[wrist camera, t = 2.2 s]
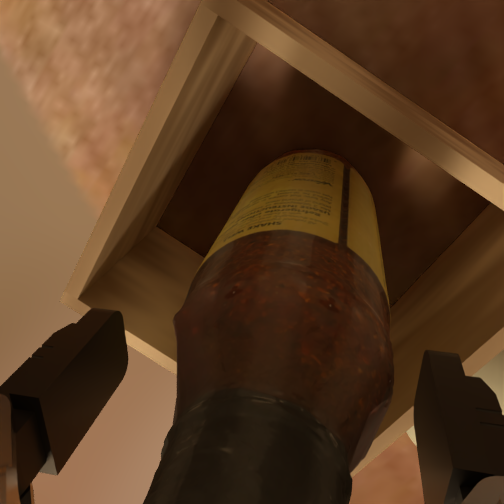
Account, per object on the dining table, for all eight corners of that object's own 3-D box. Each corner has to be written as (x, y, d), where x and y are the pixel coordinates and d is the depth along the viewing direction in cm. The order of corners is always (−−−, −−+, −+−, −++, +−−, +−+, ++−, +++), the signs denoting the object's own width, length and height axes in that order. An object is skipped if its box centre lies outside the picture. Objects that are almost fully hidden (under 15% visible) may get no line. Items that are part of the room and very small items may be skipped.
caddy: (528, 181, 21) (611, 258, 14) (351, 364, 27) (345, 482, 20) (264, -1, 20) (210, -18, 13) (142, 228, 26) (59, 301, 19)
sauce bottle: (228, 216, 25) (-108, 667, 7) (296, 116, 22) (16, 456, 4) (329, 287, 25) (244, 874, 8) (409, 197, 22) (566, 804, 5)
